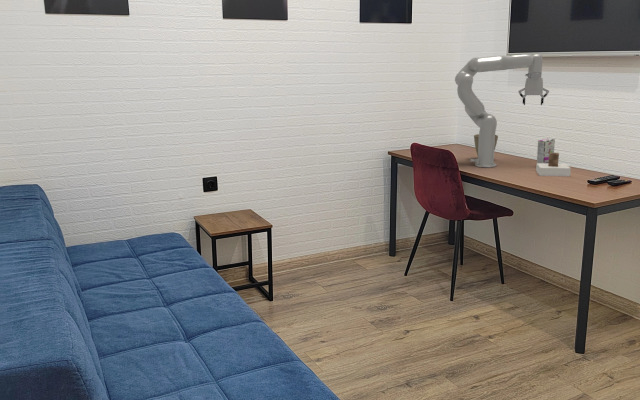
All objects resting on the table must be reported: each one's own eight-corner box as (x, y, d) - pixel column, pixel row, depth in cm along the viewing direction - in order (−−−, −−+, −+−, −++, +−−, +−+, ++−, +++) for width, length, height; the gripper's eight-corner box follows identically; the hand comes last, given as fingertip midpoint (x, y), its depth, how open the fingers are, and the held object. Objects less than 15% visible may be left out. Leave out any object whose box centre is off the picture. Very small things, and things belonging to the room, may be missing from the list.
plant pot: (468, 160, 377) (469, 136, 373) (479, 157, 387) (480, 133, 383) (490, 163, 367) (491, 137, 363) (500, 159, 377) (502, 135, 374)
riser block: (539, 176, 327) (540, 167, 325) (536, 171, 340) (536, 163, 339) (570, 177, 323) (570, 168, 322) (565, 172, 336) (565, 163, 335)
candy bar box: (545, 164, 356) (547, 138, 352) (553, 166, 353) (555, 139, 349) (535, 167, 350) (537, 140, 346) (543, 168, 346) (545, 141, 342)
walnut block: (548, 166, 329) (549, 153, 327) (548, 164, 334) (549, 152, 332) (557, 166, 327) (558, 154, 325) (557, 165, 332) (558, 152, 330)
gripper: (519, 76, 345) (517, 105, 349) (550, 75, 340) (548, 105, 344) (519, 75, 352) (517, 104, 356) (550, 75, 346) (548, 104, 350)
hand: (532, 104), depth 350 cm, fingers open, 9 cm apart
